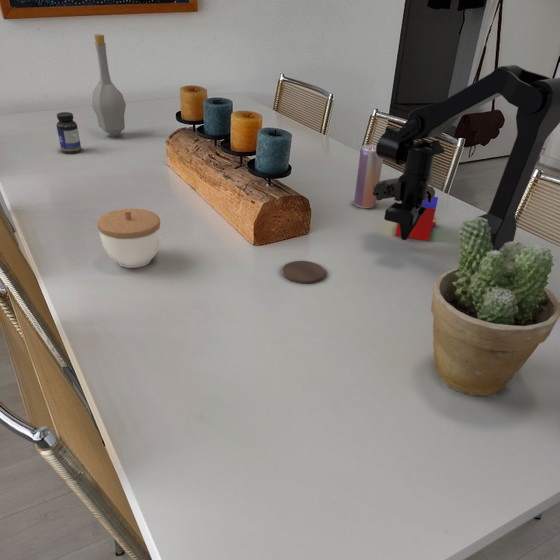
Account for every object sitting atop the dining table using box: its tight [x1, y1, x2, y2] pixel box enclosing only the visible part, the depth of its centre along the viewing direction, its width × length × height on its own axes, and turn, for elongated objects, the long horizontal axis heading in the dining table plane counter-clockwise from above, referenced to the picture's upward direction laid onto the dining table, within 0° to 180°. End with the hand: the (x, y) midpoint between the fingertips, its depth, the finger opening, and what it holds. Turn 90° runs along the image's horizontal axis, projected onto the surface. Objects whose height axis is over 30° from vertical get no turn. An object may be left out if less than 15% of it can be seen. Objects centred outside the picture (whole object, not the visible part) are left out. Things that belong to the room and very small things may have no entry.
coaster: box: [282, 260, 326, 284], centre depth 116 cm, size 9×9×1 cm
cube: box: [395, 196, 439, 242], centre depth 133 cm, size 8×8×8 cm
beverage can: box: [353, 144, 384, 210], centre depth 143 cm, size 6×6×15 cm
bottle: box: [91, 33, 127, 137], centre depth 178 cm, size 11×11×30 cm
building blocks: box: [432, 218, 438, 228], centre depth 141 cm, size 6×8×2 cm
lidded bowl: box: [96, 208, 161, 269], centre depth 114 cm, size 13×13×11 cm
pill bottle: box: [55, 111, 82, 155], centre depth 170 cm, size 6×6×11 cm
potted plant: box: [430, 216, 560, 397], centre depth 83 cm, size 18×19×25 cm
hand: (403, 239), depth 126 cm, fingers closed
